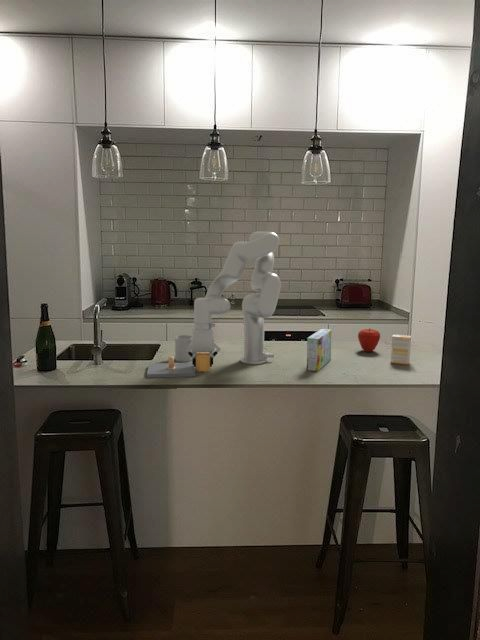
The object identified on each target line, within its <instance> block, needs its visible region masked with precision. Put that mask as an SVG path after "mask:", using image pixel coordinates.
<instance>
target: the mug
mask: <svg viewBox="0 0 480 640" xmlns="http://www.w3.org/2000/svg"><path fill="white" fill-rule="evenodd" d="M191 336H192V335H188V334H187V335H185V334H183V335H181V334H180V335H176V336H175V338H174V341H175V342H174V346H175V347H174V349H175V350H174V352H175V355H174V361H175V362H177V363H191V362H192V357H191V356H190V355H189V354H188V353H187V352H186V351H185V348H186V347H187V346H188V345H190V344H191ZM189 351H190V352H192V349H191V348H190V349H189ZM192 353H193V352H192Z"/></svg>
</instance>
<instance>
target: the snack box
mask: <svg viewBox="0 0 480 640" xmlns="http://www.w3.org/2000/svg"><path fill="white" fill-rule="evenodd" d="M331 360H332V329H330V328H329V329H328V328H320V329H319V330H317V331H316V332H314V333H313V334H311V335H310V336H308V337H307V338H306V371H311V372H319V371H320V370H322V368H323V367H324V366H325V365H327V364H328V363H329V362H330V361H331Z"/></svg>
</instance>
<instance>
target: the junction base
mask: <svg viewBox="0 0 480 640" xmlns="http://www.w3.org/2000/svg"><path fill="white" fill-rule="evenodd" d="M193 376H194V377H196V369H195V367H194V365H192V362H175V356H172V355H171V356H168V362H165V363H163V362H159V363H149V364H148V367H147V371H146V378H147V379H151V378H185V377H186V378H187V377H188V378H191V377H193Z"/></svg>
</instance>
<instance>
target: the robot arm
mask: <svg viewBox="0 0 480 640" xmlns="http://www.w3.org/2000/svg"><path fill="white" fill-rule="evenodd" d="M280 241H281V240H280V237H279V235H278V234H277V233H275V232H273V231H263V230H262V231H254V232H252V233H251V234H250V236H249V238H248V241H242V240H241V241H236V242H234V243H233V244H232V246H231V247H230V250H229V253H228V255H227V258H226V260H225V263H224V265H223V268H222V270H221V271H220V273H219V274H217V276H216V277H215V278H214V280H213V281H212V282H211V283H210V285H209V287H208V289H207V292H206V294H205V295H204V297H197V298H195V299H194V302H193V307H194V308H193V309H194V310H193V320H194V321H193V322H194V323H193V327H194V328H192V330H191V335H190V336H191V344H190V345H188V346H187V347H186V348H185V351H186V352H187V353H188V354H189V355H190V356H191V357H192V361H191V363H192V365H194V367H196V358H195V355H196V353H199V352H207V353H210V368H212V365H214V358H215V357H216V356H217V354H218V353H220V351H221V347H220V346H219V345H217V343H215V333H214V329H213V328H215V327H216V324H215V323H213V322H212V319H213V318H212V315H219V316H220V315H221V316H223V315H225V314H227V313H229V312H230V310H231V307H232V306H231V303H230V301H229V300H228V299H227V298H225V297H223V296H222V295H223V293H224V291H225V290H226V289H227V288H228V287H229V286H231V285H232V284H234V283H236V282H237V281H239V280H240V278H241V275H242V274H243V271H244V269H245V266H246V264H247V262H248V263H250V262H251V263H252V262H255V263H254V268H253V272H252V276H251V279H250V287H251V289H252V290H253V291H255V292H257V293H258V292H259V293H260V294H256V293H250V294H247V295H246V296H245V297H244V298H243V300H242V303H241V309H242V315H243V356H241V357H240V359H239V361H240V362H241V363H242V364H245V365H263V364H265V363H267V361H268V358H270V359H272V358H274V357H275V355H274V353H271V352H266V351H265V319H269V318H271V317H272V316H273V314H274V313H275V311H276V307H277V304H278V300H279V298H280V297H279V296H280V294H281V293H280V292H281V288H282V281H281V278H280V277H279V275H278V274H276V273H274V272H273V270H274V267H275V255H274V252H275V251H276V250H277V249H278V247H279V245H280ZM190 348H191V349H192V352H193V353H192V352H190V351H189V349H190ZM215 349H216V350H215Z"/></svg>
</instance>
